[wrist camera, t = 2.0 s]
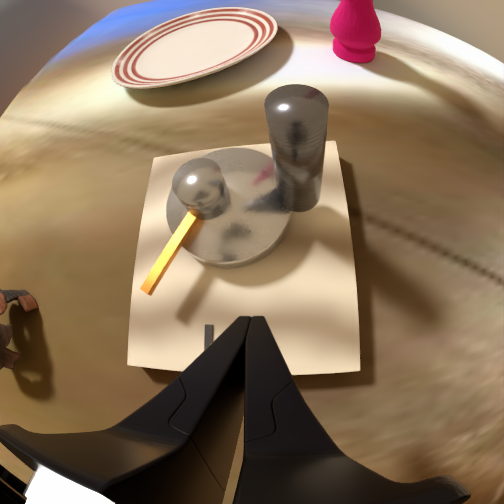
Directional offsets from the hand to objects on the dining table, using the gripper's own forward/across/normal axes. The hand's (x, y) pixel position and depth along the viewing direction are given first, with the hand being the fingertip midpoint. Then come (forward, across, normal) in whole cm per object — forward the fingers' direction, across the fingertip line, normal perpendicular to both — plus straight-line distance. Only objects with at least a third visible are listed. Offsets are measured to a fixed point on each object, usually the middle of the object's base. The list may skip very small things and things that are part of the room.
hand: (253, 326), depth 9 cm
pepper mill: (+36, -13, -17) cm, 42 cm away
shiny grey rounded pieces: (+14, +3, +2) cm, 15 cm away
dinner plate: (+40, +12, -20) cm, 46 cm away
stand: (+15, +3, +4) cm, 16 cm away
